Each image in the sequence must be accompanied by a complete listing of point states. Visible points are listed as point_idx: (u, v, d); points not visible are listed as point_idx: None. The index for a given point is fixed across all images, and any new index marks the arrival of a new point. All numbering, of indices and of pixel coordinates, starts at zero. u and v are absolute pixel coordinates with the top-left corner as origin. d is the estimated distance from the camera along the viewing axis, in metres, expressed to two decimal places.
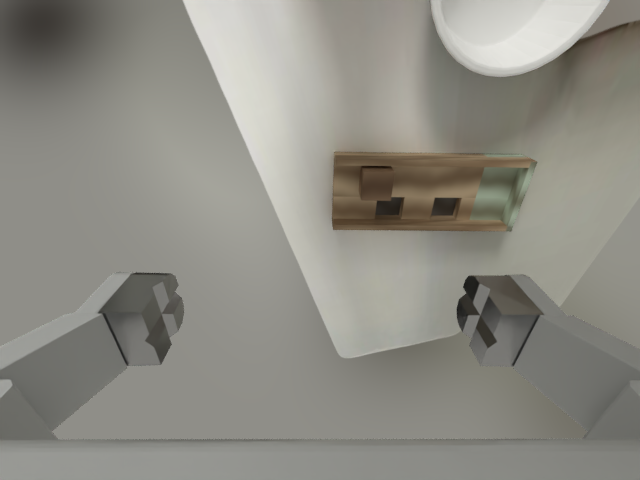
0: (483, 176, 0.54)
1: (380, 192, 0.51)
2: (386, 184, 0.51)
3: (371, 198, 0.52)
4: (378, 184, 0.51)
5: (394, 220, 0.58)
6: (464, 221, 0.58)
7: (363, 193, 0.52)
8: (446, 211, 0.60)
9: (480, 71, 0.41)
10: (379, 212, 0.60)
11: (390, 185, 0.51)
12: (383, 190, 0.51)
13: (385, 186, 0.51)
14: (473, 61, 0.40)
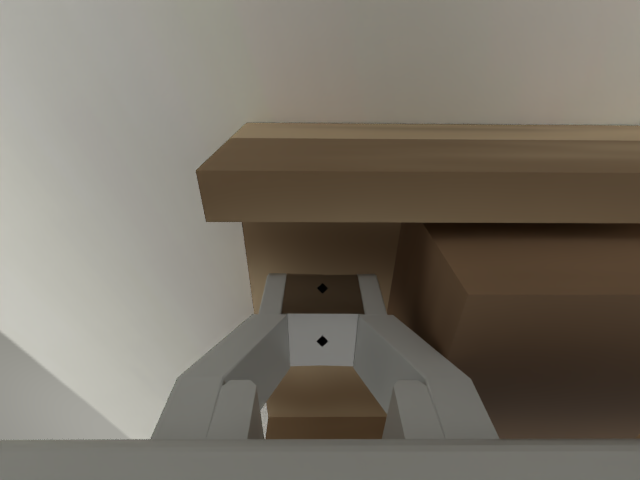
0: None
1: (567, 419, 0.07)
2: (638, 379, 0.06)
3: None
4: (572, 377, 0.06)
5: None
6: None
7: None
8: None
9: None
10: None
11: None
12: (593, 410, 0.07)
13: (626, 388, 0.06)
14: None
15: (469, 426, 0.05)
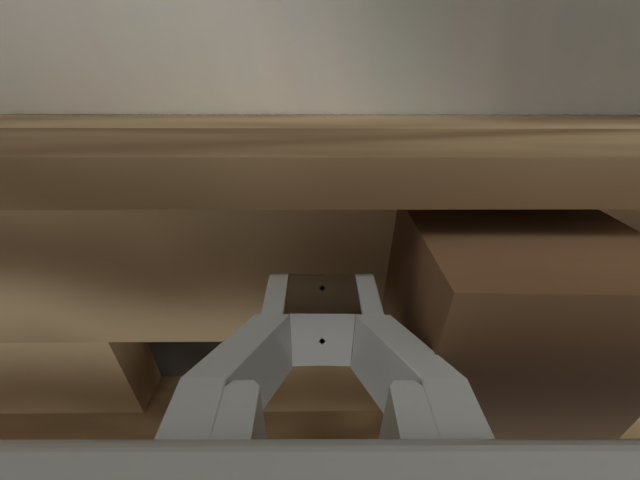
0: None
1: (553, 417, 0.07)
2: (622, 378, 0.06)
3: None
4: (559, 375, 0.06)
5: None
6: None
7: None
8: None
9: None
10: (183, 368, 0.15)
11: None
12: (579, 408, 0.07)
13: (610, 387, 0.06)
14: None
15: (465, 426, 0.05)
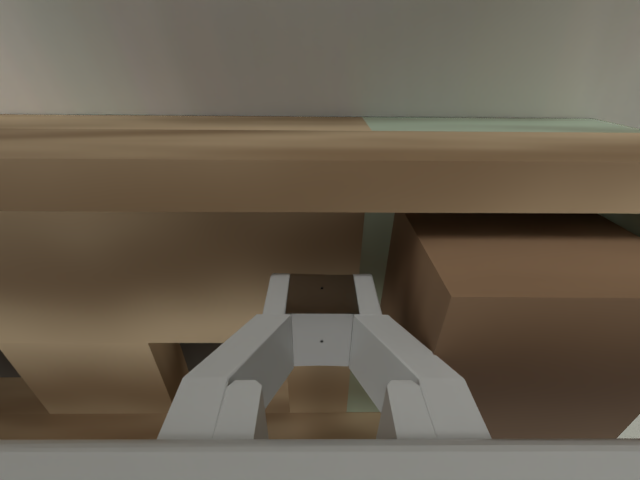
0: (370, 250, 0.09)
1: (550, 418, 0.07)
2: (619, 380, 0.06)
3: None
4: (555, 377, 0.06)
5: (7, 426, 0.13)
6: (318, 430, 0.13)
7: None
8: None
9: None
10: None
11: None
12: (575, 409, 0.07)
13: (606, 389, 0.06)
14: None
15: (462, 426, 0.05)
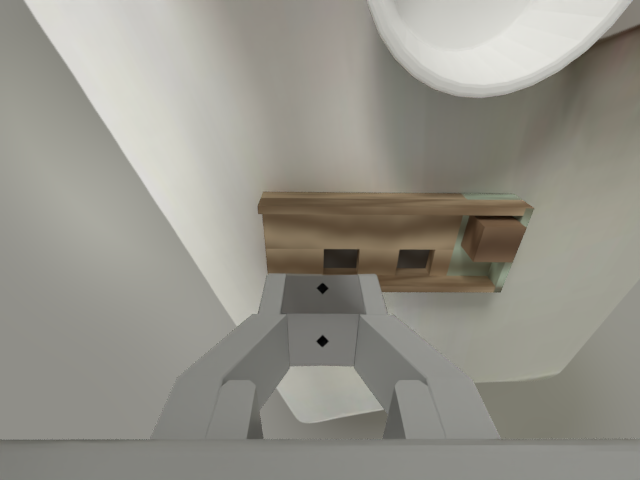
0: (462, 223, 0.41)
1: (500, 252, 0.38)
2: (511, 243, 0.38)
3: (487, 259, 0.39)
4: (500, 242, 0.38)
5: None
6: (439, 278, 0.44)
7: (478, 253, 0.38)
8: (417, 263, 0.46)
9: (447, 90, 0.27)
10: (331, 264, 0.46)
11: (515, 244, 0.38)
12: (505, 250, 0.38)
13: (509, 245, 0.38)
14: (436, 75, 0.26)
15: (470, 426, 0.05)
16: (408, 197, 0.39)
